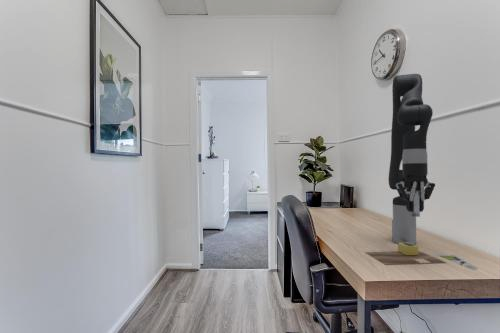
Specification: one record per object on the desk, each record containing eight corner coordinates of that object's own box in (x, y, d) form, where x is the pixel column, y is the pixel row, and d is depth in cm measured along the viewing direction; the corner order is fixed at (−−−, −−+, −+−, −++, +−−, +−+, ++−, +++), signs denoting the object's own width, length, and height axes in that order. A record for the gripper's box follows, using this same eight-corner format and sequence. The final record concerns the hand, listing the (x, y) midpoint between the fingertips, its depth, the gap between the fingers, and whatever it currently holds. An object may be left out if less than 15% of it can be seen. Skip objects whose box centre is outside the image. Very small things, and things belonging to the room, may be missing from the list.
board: (364, 256, 103) (364, 252, 103) (418, 254, 105) (418, 250, 105) (385, 269, 89) (385, 265, 89) (447, 267, 91) (447, 262, 91)
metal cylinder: (408, 215, 95) (408, 189, 95) (416, 215, 95) (416, 189, 95) (413, 216, 92) (413, 190, 92) (421, 216, 92) (421, 190, 92)
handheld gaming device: (449, 266, 90) (429, 253, 105) (449, 269, 90) (429, 255, 105) (479, 268, 89) (454, 254, 103) (479, 270, 89) (454, 256, 103)
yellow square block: (398, 251, 104) (397, 242, 104) (409, 250, 104) (409, 241, 104) (406, 255, 99) (406, 245, 99) (418, 254, 99) (418, 245, 99)
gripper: (426, 162, 98) (426, 209, 98) (389, 162, 97) (389, 210, 97) (442, 162, 90) (442, 213, 90) (402, 162, 90) (402, 213, 90)
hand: (414, 211), depth 94 cm, fingers closed on metal cylinder, 2 cm apart
